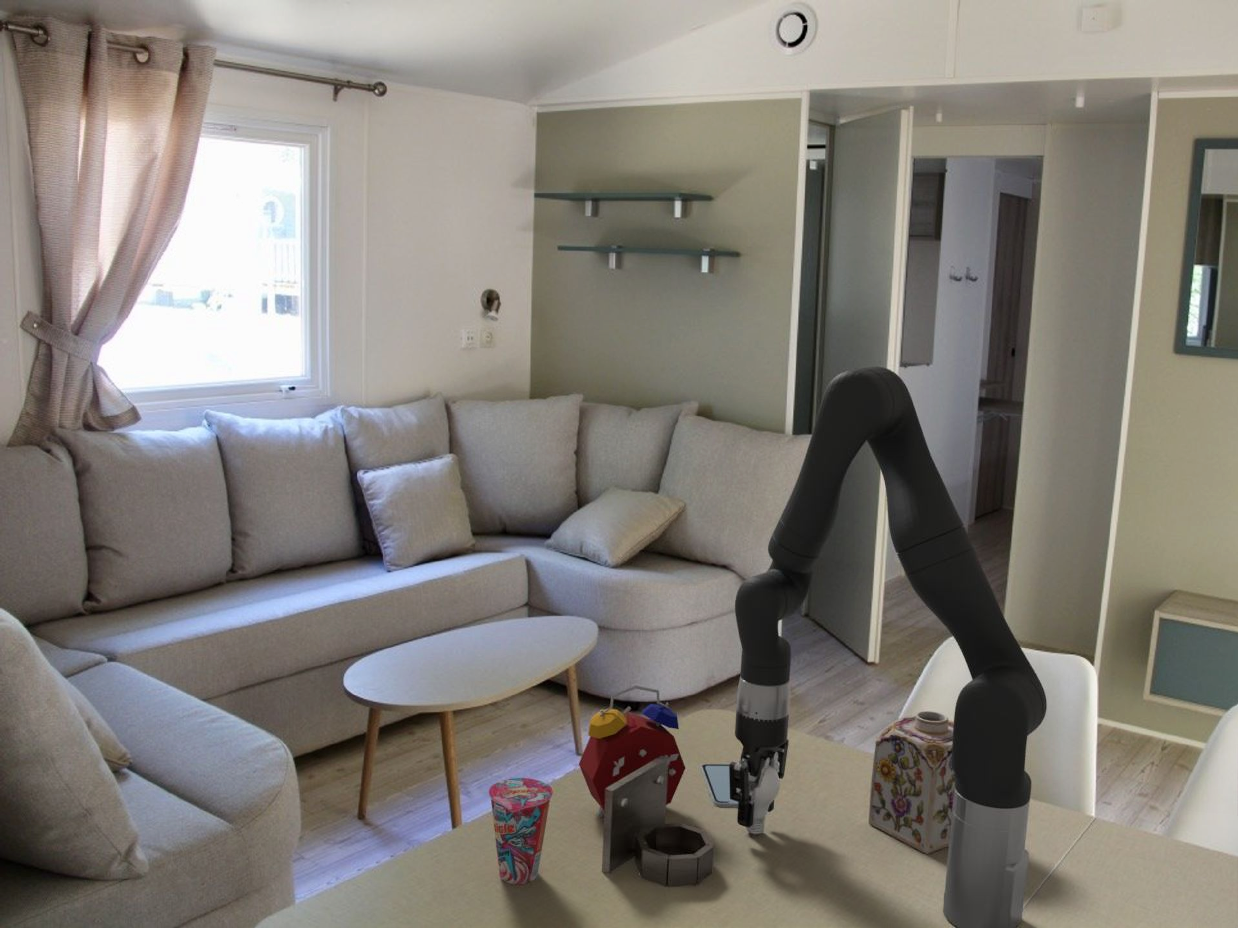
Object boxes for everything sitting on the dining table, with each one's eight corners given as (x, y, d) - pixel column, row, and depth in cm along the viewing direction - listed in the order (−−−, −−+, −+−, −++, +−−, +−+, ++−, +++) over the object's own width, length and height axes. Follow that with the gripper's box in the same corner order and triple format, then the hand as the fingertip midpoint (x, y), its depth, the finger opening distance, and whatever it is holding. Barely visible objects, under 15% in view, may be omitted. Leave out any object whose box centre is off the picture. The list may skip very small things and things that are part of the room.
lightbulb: (774, 846, 176) (779, 774, 174) (730, 840, 178) (734, 768, 176) (778, 826, 183) (782, 756, 181) (735, 820, 184) (739, 751, 182)
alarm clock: (666, 796, 191) (672, 673, 187) (690, 821, 183) (697, 693, 179) (576, 809, 185) (581, 682, 182) (596, 835, 177) (601, 703, 174)
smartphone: (743, 763, 204) (761, 803, 189) (743, 768, 204) (761, 808, 189) (699, 763, 203) (714, 803, 188) (699, 768, 203) (713, 808, 188)
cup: (479, 863, 168) (481, 781, 166) (539, 855, 171) (542, 774, 169) (497, 898, 160) (500, 811, 157) (560, 888, 163) (563, 803, 160)
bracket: (730, 859, 172) (735, 778, 170) (677, 900, 161) (682, 814, 159) (657, 833, 179) (661, 755, 177) (601, 870, 167) (605, 788, 165)
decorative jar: (926, 856, 175) (937, 737, 172) (865, 824, 185) (874, 710, 181) (979, 835, 182) (991, 720, 179) (918, 805, 192) (927, 695, 188)
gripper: (762, 729, 169) (754, 843, 172) (808, 699, 180) (800, 807, 183) (714, 715, 173) (708, 827, 176) (763, 687, 185) (756, 793, 188)
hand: (755, 816), depth 180 cm, fingers closed on lightbulb, 6 cm apart
